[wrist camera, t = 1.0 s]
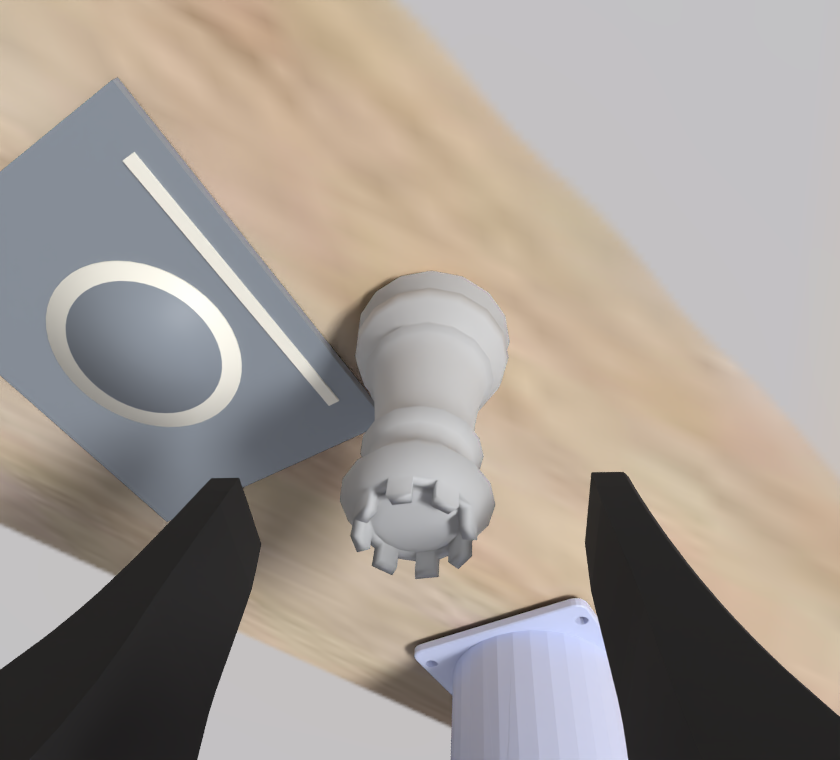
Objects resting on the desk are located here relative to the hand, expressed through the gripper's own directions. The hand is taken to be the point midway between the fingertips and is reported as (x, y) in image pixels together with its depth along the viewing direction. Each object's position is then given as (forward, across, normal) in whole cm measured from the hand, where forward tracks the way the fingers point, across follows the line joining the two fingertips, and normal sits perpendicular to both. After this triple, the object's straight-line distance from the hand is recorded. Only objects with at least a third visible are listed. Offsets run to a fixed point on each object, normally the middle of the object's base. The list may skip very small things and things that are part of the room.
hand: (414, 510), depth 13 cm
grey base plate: (+7, +9, 0) cm, 12 cm away
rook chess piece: (+8, 0, 0) cm, 8 cm away
